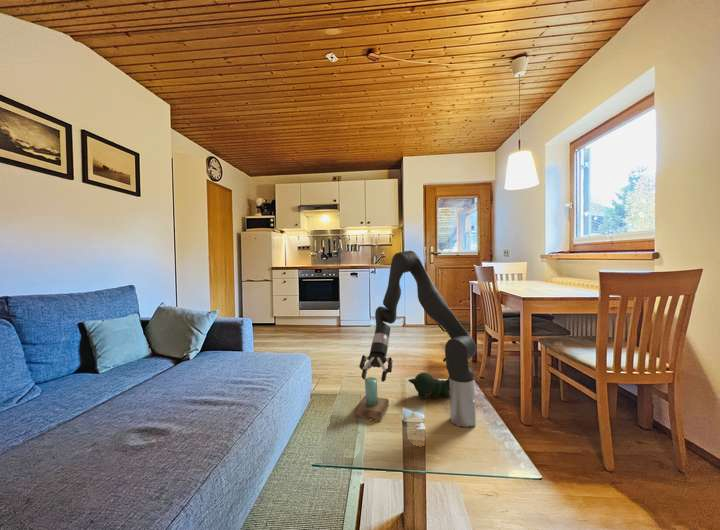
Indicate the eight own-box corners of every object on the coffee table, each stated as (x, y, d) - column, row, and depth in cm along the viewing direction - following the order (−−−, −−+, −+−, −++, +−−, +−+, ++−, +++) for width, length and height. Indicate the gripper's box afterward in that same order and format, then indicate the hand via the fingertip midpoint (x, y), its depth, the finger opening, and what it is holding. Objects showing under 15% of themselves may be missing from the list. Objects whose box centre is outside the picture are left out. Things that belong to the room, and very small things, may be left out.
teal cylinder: (379, 401, 132) (378, 378, 131) (375, 407, 127) (374, 383, 126) (368, 399, 133) (367, 376, 133) (364, 405, 129) (363, 381, 128)
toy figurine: (453, 391, 149) (404, 393, 144) (455, 352, 148) (405, 353, 144) (463, 400, 139) (411, 403, 135) (465, 359, 139) (412, 360, 134)
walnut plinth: (388, 408, 133) (388, 399, 133) (381, 421, 123) (380, 411, 123) (365, 404, 137) (364, 395, 137) (355, 417, 127) (355, 408, 127)
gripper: (362, 340, 142) (354, 374, 132) (392, 342, 137) (386, 378, 127) (367, 348, 147) (360, 381, 137) (396, 350, 142) (391, 385, 132)
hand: (373, 380), depth 132 cm, fingers open, 8 cm apart
